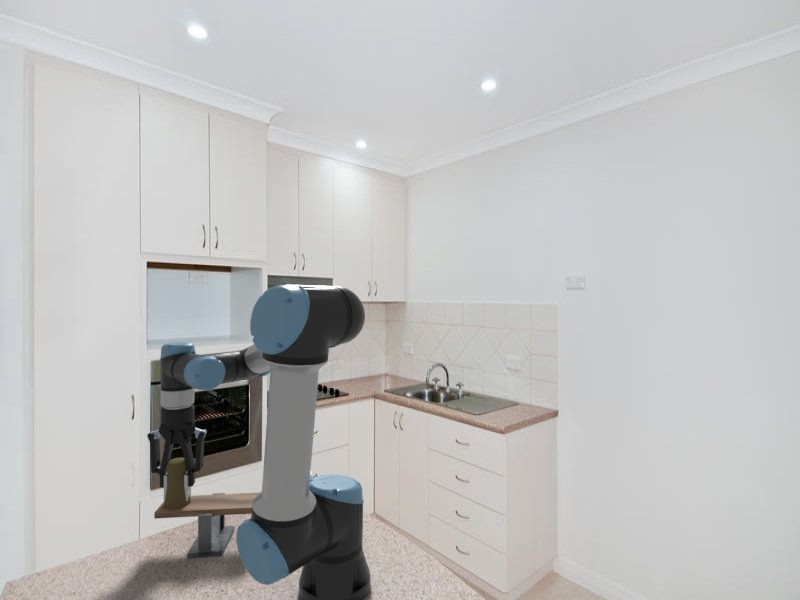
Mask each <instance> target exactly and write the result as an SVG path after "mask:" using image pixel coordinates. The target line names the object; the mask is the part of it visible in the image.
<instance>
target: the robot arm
mask: <svg viewBox="0 0 800 600" xmlns="http://www.w3.org/2000/svg"><path fill="white" fill-rule="evenodd" d="M365 320H366V313H365V307H364V305H363V303H362V301H361V299H360V298H359V296H358V295H357V294H356V293H355V292H353V291H351V290H350V289H348V288H346V287H345V286H344V287H343V286H340V285H311V284H307V285H306V284H297V283H296V284H285V285H284V284H283V285H282V284H281V285H275V286H272V287H270V288H268V289H266V290H265V291H264V292H263V293H262V294H261V295H259V297H258V299H257V300H256V302H255V304H254V306H253V308H252V311H251V316H250V324H249V327H250V329H249V330H250V331H249V332H250V335H251V336H252V337H253V338H252V342H253V344H251V345H250V346H248V347H246V348H244V349H241V350H233V351H224V352H223V351H222V352H215V353H205V354H198V353H197V354H196V348H195V345H194V343H192V342H188V341H186V342H184V341H183V342H182V341H180V342H178V341H177V342H168V343H165V344H163V345H161V347H160V358H159V362H160V406H161V408H160V426H159V427H158V429H155V430H152V431H150V432H149V433H148V434H147V439H148V441H149V447H150V472H151V473H152V474H158V475H159V487H160V489H161V488H163V502H165V497H166V490H167V482H168V473H167V472H166V465H167V463H168V461H170V460H172V459H171V458H172V452H173V449H174V445H175V444H178V445H179V446H180V449H182V453H183V458H184V459H185V464H186V469H187V473H186V474H185V475H184V489H185V496H186V501H188V497H189V495H190V497H191V496H192V487H193V486H194V485H195V483H196V473H197V472H200V470H201V469H203V467H204V455H205V454H204V453H205V438H206V436H207V434H208V429H206V428H203V429H201V428H198V427H197V424H196V422H195V417H196V415H195V411H196V410H195V408H196V407H195V405H194V404H195V396H196V395H195V392H196V391H195V389H196V390H198V391H210V390H214V389H216V388H217V387H218V386H219V385H222V384H229V383H233V382H239V381H240V382H241V381H245V380H251V379H252V380H255V379H259V378H263V377H266V376H267V375H269V386H268V398H267V413H266V414H267V415H266V426H265V427H266V429H265V440H264V441H265V444H264V457H263V473H262V484H261V491H260V492H258V493H259V494H258V495H257V496H256V497H255V498H254V500H253V504H252V514H251V516H250V518H249V519H245V520H243V521H242V522H241V524H240V525H239V526H237V530H236V534H235V540H236V548H237V553H238V554H239V558H240V560H241V562H242V564H243V567H244V568H245V569H246V572H247V573H248V574H249V575H250V576H251V578H252V579H254V580H255V581H256V582H258V583H259V584H261V585H273V584H275V583H277V582H278V581H281V580H283V579H285V578H287V577H289V575H291V574H292V573H295V571H297V570H299V569H300V568H301V569H302V570H301V573H300V576H299V579H298V595H299V598H300V600H363V599H364V600H365V599H366V598H367V596H368V595H369V593H370V591H371V571H370V568H369V566H368V562H367V559H366V556H365V553H364V550H363V540H364V539H363V533H364V532H363V531H364V528H363V527H364V526H363V525H364V521H363V520H364V499H363V497H364V495H363V488H362V485H361V483H360V482H359V481H358V480H357V479H355V478H353V477H349V476H346V475H341V474H322V475H317V476H313V477H311V478H312V479H311V480H310V472H311V471H312V469H311V467H312V458H313V457H312V456H313V445H314V432H315V420H316V409H317V395H318V385H319V384H318V383H319V382H318V381H319V372H320V371H319V370H320V369H321V368H323V367H324V366H325V365H326V364H327V363H328V361H329V353H330V349H333V348H336V347H338V346H340V345H343V344H346V343H350V342H351V341H353V340H354V339H355V338H357V337H358V336H359V335H360V333H361V331H362V329H363V327H364V324H365ZM194 434H195V436H194V437H195V438H196V441H195V457H194V454H193V450H192V440H191V437H192V436H193V435H194ZM161 437H162V438H163V439H164V440H165V441H164V446H163V453H162V458H161V447H160V445H161V444H160V443H161V442H160V438H161ZM369 590H370V591H369Z"/></svg>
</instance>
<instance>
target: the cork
mask: <svg viewBox="0 0 800 600" xmlns="http://www.w3.org/2000/svg"><path fill="white" fill-rule="evenodd" d="M166 472H167V473H168V482H167V490H166V497H165V502H164V501H163V502H164V508H166V509H179V508H182V507H185V506H187V505H189V504H190V503H191V497H190V495H189V497H188V501H186V496H185V489H184V475H185V474H186V473H187V469H186V464H185V459H184V457H175V458H172V459H170V461H168V463H167V465H166Z"/></svg>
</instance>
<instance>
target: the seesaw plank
mask: <svg viewBox="0 0 800 600" xmlns="http://www.w3.org/2000/svg"><path fill="white" fill-rule="evenodd" d="M259 493H260V492H248V493H246V492H245V493H244V492H243V493H225V494H219V495H212V494H199V495H191V503H190V504H189V505H187V506H185V507H182V508H179V509H166V508H164V501H163V502H162V503H161V504H160V505H159V507H158V508H157V509H156V510H155V511H154V513H153V514H154V520H155V519H171V518H172V519H173V518H174V519H175V518H192V517H193V518H194V517H198V515H199V514H212V516H215V515H225V516H231V515H232V516H233V515H250V514H251V515H252V504H253V500H254V498H255V497H256V496H257V495H258V494H259Z"/></svg>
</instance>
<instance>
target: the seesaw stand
mask: <svg viewBox="0 0 800 600" xmlns="http://www.w3.org/2000/svg"><path fill="white" fill-rule="evenodd" d="M219 494H226V493H225V492H221V493H220V492H219V493H212V494H211V495H219ZM225 517H226V515H215V516H212V514H199V515H198V516H197V528H198V529H197V534H198V535H197V536H196V538H195V540H194V542H193V543H192V544H191V546H190V548H189V549H188V550H187V553H186V559H195V558H196V559H198V558H213V557H223V556H224V554H225V551H226V550H227V547H228V545H229V543H230V540H231V538H232V536H233V535H234V532H235V531H236V529H235V526H236V525H226V521H225V520H226V518H225Z"/></svg>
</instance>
